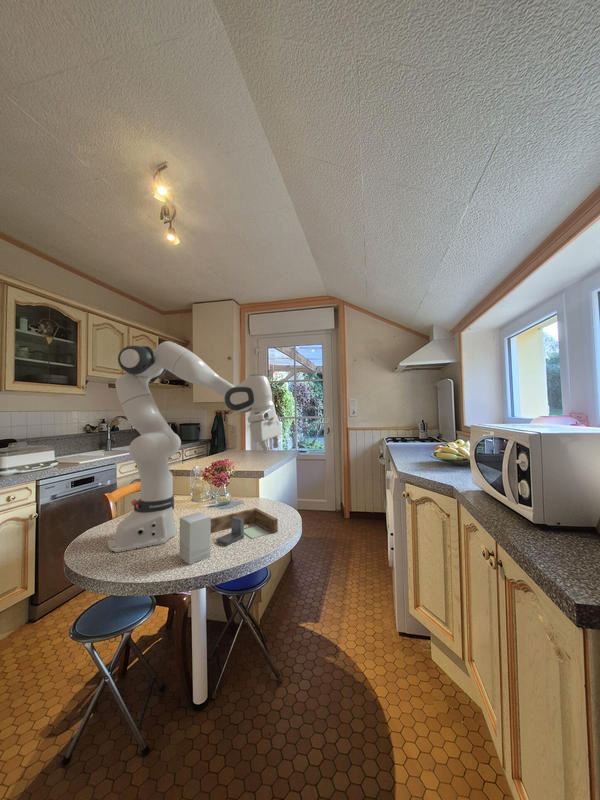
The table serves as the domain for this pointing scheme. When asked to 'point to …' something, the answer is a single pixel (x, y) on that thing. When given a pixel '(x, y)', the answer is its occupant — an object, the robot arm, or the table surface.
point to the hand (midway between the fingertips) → (271, 450)
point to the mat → (254, 532)
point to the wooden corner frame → (245, 520)
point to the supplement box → (195, 537)
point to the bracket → (233, 532)
